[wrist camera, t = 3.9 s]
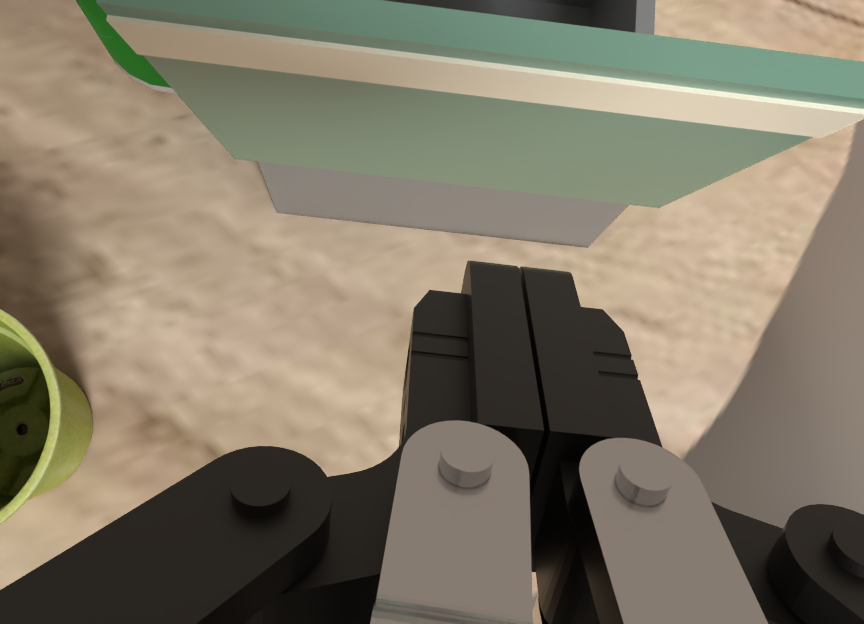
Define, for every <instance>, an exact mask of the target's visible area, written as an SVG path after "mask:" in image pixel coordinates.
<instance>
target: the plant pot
mask: <svg viewBox="0 0 864 624" xmlns="http://www.w3.org/2000/svg"><path fill="white" fill-rule="evenodd" d="M15 377H21V378H23V380H24V381H23V383H22V384H17V385H14V386H11V387H8V388H5V389H4V390H0V524H2V523H3V522H4V521H5V520H7V519H8V518H9V517H11V516H12V515H13V514H14V513H15V512H16V511H17V510H18V509H19V508H20V507H21V506H22V505H23V504H24V503H25V502H26V501H27V500H29V499H31V498H34V497H36V496H39V495H41V494H43V493H45V492H48V491H50V490H52V489H54V488H55V487H57V486H58V485H60V484H61V483H63V482H64V481H65V480H67V479H68V478H69V477H70V476H71V475H72V474H73V473H74V472H75V471H76V469H77V468H78V466H79V465H80V463H81V461H82V459H83V457H84V455H85V453H86V451H87V448H88V446H89V443H90V441H91V438H92V431H93V419H92V412H91V409H90V405H89V403H88V400H87V398H86V396H85V395H84V393H83V392H82V390H81V389H80V388H79V386H78V385H77V384H76V383H75V382H74V381H73V380H72V379H71V378H69V377H68V376H67V375H65V374H64V373H62V372H61V371H60V370H58V369H57V368H56V367H54V366H53V364H52V362H51V360H50V358H49V356H48V354H47V352H46V351H45V349H44V348H43V346H42V345H41V343H40V342H39V341H38V339H37V338H36V337H35V336H34V335H33V334H32V332H31V331H29V330H28V329H27V328H26V327H25V326H24V325H23V324H22V323H21V322H20V321H18V320H17V319H16V318H14V317H13V316H11V315H10V314H8V313H7V312H5V311H3V310H1V309H0V384H2V383H3V382H4V381H6V380H8V379H11V378H15ZM20 424H25V425H26V426H27V428H28V430H27V433H26V434H25V435H19V434H18V431H17V428H18V426H19V425H20ZM28 478H29V479H28ZM27 479H28V481H27V482H26V480H27Z"/></svg>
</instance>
